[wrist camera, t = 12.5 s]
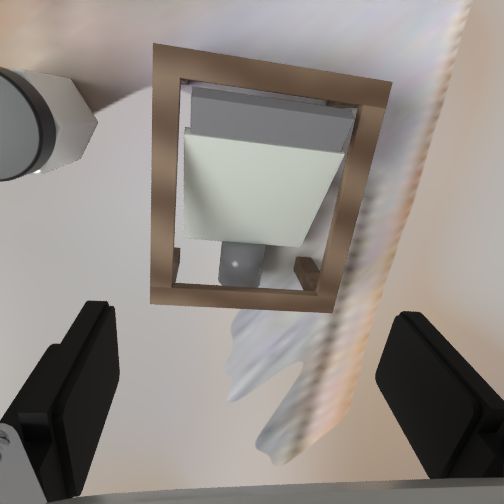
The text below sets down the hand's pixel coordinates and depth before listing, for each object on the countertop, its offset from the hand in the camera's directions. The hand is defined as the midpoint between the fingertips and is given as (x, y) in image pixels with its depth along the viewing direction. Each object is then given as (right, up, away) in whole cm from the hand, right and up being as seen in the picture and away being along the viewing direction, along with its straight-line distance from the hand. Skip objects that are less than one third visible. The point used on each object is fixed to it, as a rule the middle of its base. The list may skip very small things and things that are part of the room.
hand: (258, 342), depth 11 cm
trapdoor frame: (-1, +11, +28) cm, 30 cm away
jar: (-21, +17, +24) cm, 36 cm away
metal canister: (-1, +4, +29) cm, 29 cm away
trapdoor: (0, +10, +23) cm, 25 cm away
